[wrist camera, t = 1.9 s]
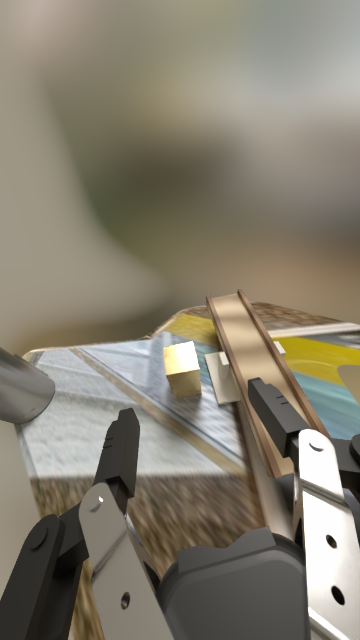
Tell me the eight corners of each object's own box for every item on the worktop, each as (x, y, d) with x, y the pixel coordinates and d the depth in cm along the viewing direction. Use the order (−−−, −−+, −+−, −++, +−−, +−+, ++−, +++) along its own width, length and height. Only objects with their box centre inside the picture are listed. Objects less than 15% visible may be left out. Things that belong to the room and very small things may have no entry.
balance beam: (331, 462, 21) (346, 463, 19) (268, 475, 21) (275, 478, 18) (239, 297, 40) (241, 288, 37) (206, 304, 40) (206, 295, 37)
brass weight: (201, 393, 32) (199, 368, 25) (175, 398, 32) (165, 375, 25) (196, 369, 35) (192, 341, 28) (172, 374, 35) (163, 347, 28)
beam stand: (294, 389, 30) (311, 371, 25) (218, 404, 30) (220, 389, 25) (266, 344, 37) (275, 323, 32) (204, 357, 37) (204, 337, 32)
